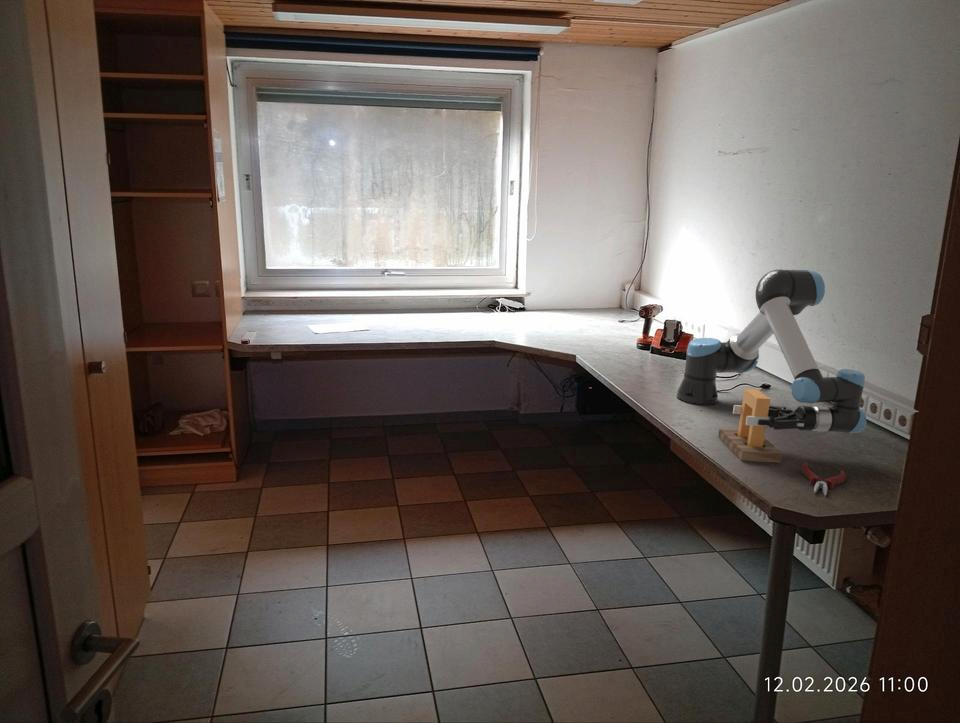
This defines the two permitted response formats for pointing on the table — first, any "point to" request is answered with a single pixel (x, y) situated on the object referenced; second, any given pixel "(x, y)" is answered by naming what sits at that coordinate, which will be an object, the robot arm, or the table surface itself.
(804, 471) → the pliers
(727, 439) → the wooden slotted board
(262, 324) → the table surface
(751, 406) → the orange arch-shaped block
